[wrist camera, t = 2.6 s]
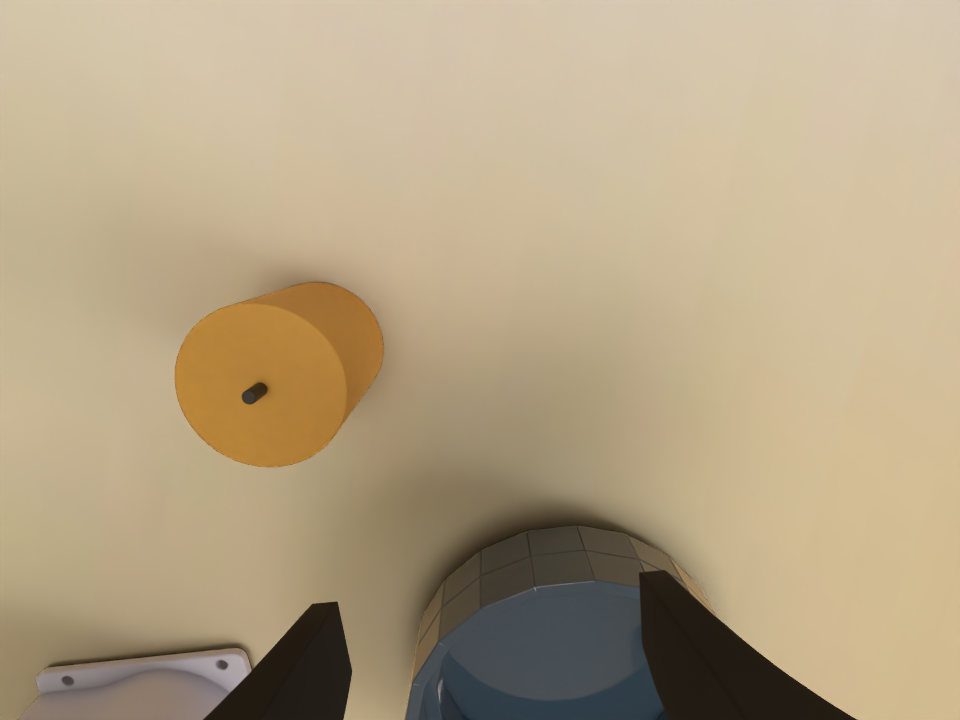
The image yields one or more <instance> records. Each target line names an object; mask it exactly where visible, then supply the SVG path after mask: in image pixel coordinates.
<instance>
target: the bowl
mask: <svg viewBox="0 0 960 720" xmlns="http://www.w3.org/2000/svg"><path fill="white" fill-rule="evenodd" d="M658 570H666V571H667V572H668V573H669V574H671V575H672V576H673V577H674V578H675V579H676V580H677V581H678V582H679V583H680V584H681V585H682V586H683V587H684V588H685V589H686V590H687V591H689V592H690V593H691V594H692V595H693V596H694V597H695V598H696V599H697V600H698V601H699V602H700V603H701V604H703V605H704V606H705V607H706V608H707V609H708V610H709V611H710V612H711V613H712V614H714V615H715V616H716V614H715V613H714V611H713V609H712V608H711V606H710V605H709V603H708V601H707V600H706V598H705V596H704V595H703V593H702V592H701V590H700V588H699V587H698V585H697V584H696V583H695V582H694V581H693V580H692V579H691V578H690V577H689V576H688V575H687V574H686V573H685V572H684V571H683V570H682V569H681V568H680V567H679V566H678V565H677V564H676V563H675V562H674V561H673V560H672V559H671V558H670V557H669V556H667V555H666V554H664V553H662V552H660V551H658V550H656V549H654V548H653V547H651V546H649V545H647V544H645V543H643V542H641V541H639V540H637V539H635V538H633V537H631V536H629V535H626V534H625V533H620V532H614V531H609V530H603V529H597V528H591V527H585V526H580V525H577V526H566V527H557V528H548V529H539V530H530V531H527V532H523V533H520V534H518V535H515V536H513V537H511V538H508V539H506V540H503V541H501V542H498V543H496V544H494V545H491V546H489V547H486V548H484V549H482V550H481V551H479V552H478V553H476V554H475V555H474V556H473V557H471V558H470V559H469V560H468V561H467V562H465V563H464V564H463V565H462V566H460V567H459V568H458V569H457V570H456V571H454V572H453V573H452V574H451V575H449V576H448V577H447V578H446V580H444V581H443V583H442V584H441V586H440V588H439V589H438V591H437V593H436V594H435V596H434V597H433V599H432V601H431V602H430V604H429V605H428V607H427V609H426V610H425V612H424V613H423V616H422V618H421V623H420V628H419V633H418V638H417V644H416V649H415V654H414V660H413V667H412V673H411V680H410V686H409V693H408V699H407V706H406V712H405V718H404V720H669V719H668V716H667V714H666V712H665V710H664V707H663V705H662V703H661V700H660V698H659V695H658V693H657V691H656V688H655V685H654V682H653V678H652V675H651V672H650V669H649V666H648V663H647V659H646V656H645V653H644V650H643V646H642V633H641V608H640V583H639V572H648V571H658ZM716 617H717V616H716Z"/></svg>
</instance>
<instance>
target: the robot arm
mask: <svg viewBox="0 0 960 720" xmlns="http://www.w3.org/2000/svg"><path fill="white" fill-rule="evenodd" d="M639 583H640V608H641V633H642V646H643V650H644V653H645V656H646V659H647V663H648V666H649V669H650V672H651V675H652V678H653V682H654V685H655V688H656V691H657V693H658V695H659V698H660V700H661V703H662V705H663V707H664V710H665V712H666V714H667V716H668V719H669V720H856V719H855V718H853V717H851V716H850V715H848V714H846V713H845V712H843V711H842V710H840V709H838V708H837V707H835V706H834V705H832V704H830V703H829V702H827V701H826V700H824V699H823V698H821V697H820V696H818V695H817V694H815V693H814V692H812V691H811V690H809V689H808V688H806V687H805V686H804V685H802V684H801V683H799V682H798V681H796V680H795V679H793V678H792V677H790V676H789V675H788V674H786V673H785V672H784V671H782V670H781V669H779V668H778V667H777V666H775V665H774V664H773V663H771V662H770V661H769V660H768V659H766V658H765V657H764V656H762V655H761V654H760V653H759V652H757V651H756V650H755V649H754V648H752V647H751V646H750V645H749V644H747V643H746V642H745V641H744V640H743V639H741V638H740V637H739V636H738V635H737V634H735V633H734V632H733V631H732V630H731V629H730V628H729V627H727V626H726V625H725V624H724V623H723V622H722V621H720V620H719V619H718V618H717V617H716V616H715V615H714V614H712V613H711V612H710V611H709V610H708V609H707V608H706V607H705V606H704V605H703V604H701V603H700V602H699V601H698V600H697V599H696V598H695V597H694V596H693V595H692V594H691V593H690V592H689V591H687V590H686V589H685V588H684V587H683V586H682V585H681V584H680V583H679V582H678V581H677V580H676V579H675V578H674V577H673V576H672V575H671V574H669V573H668V572H667V571H666V570H658V571H648V572H639ZM222 660H224V661H226V662H224V661H222ZM351 676H352V668H351V663H350V658H349V654H348V649H347V644H346V640H345V635H344V630H343V625H342V621H341V616H340V611H339V607H338V602H327V603H316V604H312V605H311V606H310V607H309V608H308V609H307V610H306V611H305V612H304V614H303V615H302V616H301V617H300V618H299V619H298V620H297V621H296V622H295V624H294V625H293V626H292V627H291V628H290V629H289V630H288V631H287V633H286V634H285V635H284V636H283V637H282V638H281V639H280V640H279V642H278V643H277V644H276V645H275V646H274V647H273V648H272V649H271V650H270V651H269V653H268V654H267V655H266V656H265V657H264V658H263V659H262V660H261V661H260V662H259V663H258V664H257V666H256V667H255V668H254V669H253V670H251V666H250V663H249V659H248V656H247V654H246V652H244V651H243V650H242V649H239V648H230V649H220V650H210V651H201V652H191V653H182V654H172V655H163V656H153V657H144V658H134V659H125V660H115V661H106V662H96V663H87V664H77V665H68V666H58V667H49V668H45V669H44V670H43V671H42V672H41V673H40V674H39V675H38V676H37V677H36V685H37V687H38V689H39V692H40V694H41V695H40V696H39V697H38V698H37V699H36V700H35V701H34V702H33V703H32V704H31V705H30V706H29V707H28V708H27V709H26V711H25V712H24V713H23V714H22V715H21V716H20V717H19V718H18V719H17V720H343V719H344V714H345V709H346V704H347V699H348V693H349V687H350V682H351Z"/></svg>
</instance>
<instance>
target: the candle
mask: <svg viewBox="0 0 960 720" xmlns="http://www.w3.org/2000/svg"><path fill="white" fill-rule="evenodd" d="M382 358H383V338H382V334H381V330H380V327H379V325H378V322H377V320H376V319H375V317H374V315H373V313H372V312H371V311H370V309H369V308H368V307H367V306H366V305H365V304H364V302H363V301H361V300H360V299H359V298H358V297H357V296H355V295H354V294H352V293H351V292H349V291H347V290H345V289H343V288H341V287H338V286H335V285H332V284H327V283H318V282H313V283H304V284H299V285H296V286H292V287H289V288H286V289H282V290H279V291H276V292H273V293H269V294H266V295H263V296H259V297H256V298H253V299H249V300H246V301H243V302H239V303H236V304H233V305H230V306H227V307H224V308H221V309H218V310H217V311H215V312H213V313H211V314H209V315H208V316H206V317H205V318H203V319H202V320H201V321H200V322H199V323H197V324H196V325H195V326H194V327H193V328H192V330H191V331H190V332H189V334H188V335H187V336H186V338H185V340H184V342H183V344H182V345H181V348H180V351H179V353H178V356H177V361H176V366H175V388H176V393H177V397H178V401H179V404H180V406H181V409H182V411H183V413H184V415H185V417H186V419H187V421H188V422H189V424H190V425H191V427H192V428H193V429H194V430H195V432H196V433H197V434H198V435H199V436H200V437H201V438H202V439H203V440H204V441H205V442H206V443H207V444H208V445H210V446H211V447H212V448H214V449H215V450H216V451H218V452H220V453H221V454H223V455H225V456H226V457H229V458H231V459H233V460H235V461H238V462H241V463H245V464H248V465H253V466H259V467H281V466H287V465H292V464H295V463H298V462H301V461H303V460H306V459H308V458H310V457H312V456H313V455H315V454H316V453H318V452H319V451H320V450H322V449H323V448H324V447H325V446H326V445H327V444H328V443H329V442H330V441H331V440H332V439H333V437H334V436H335V435H336V433H337V432H338V430H339V429H340V428H341V426H342V425H343V423H344V422H345V420H346V419H347V418H348V416H349V415H350V413H351V412H352V411H353V409H354V408H355V406H356V405H357V403H358V402H359V401H360V399H361V398H362V396H363V395H364V394H365V392H366V391H367V389H368V388H369V386H370V385H371V384H372V382H373V381H374V379H375V378H376V376H377V374H378V372H379V370H380V366H381V363H382Z"/></svg>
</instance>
